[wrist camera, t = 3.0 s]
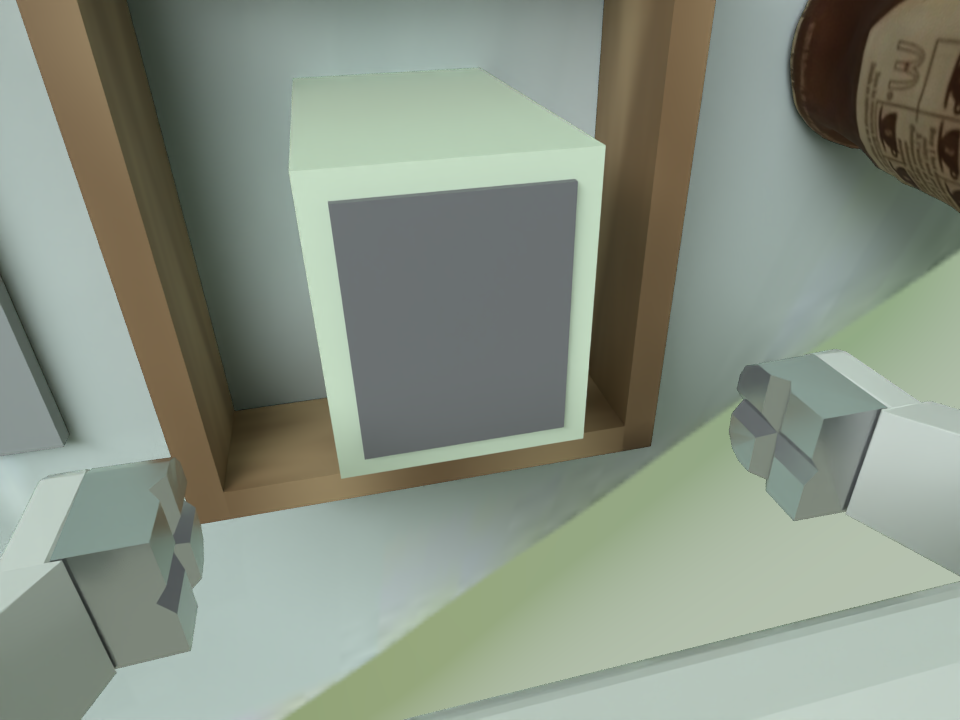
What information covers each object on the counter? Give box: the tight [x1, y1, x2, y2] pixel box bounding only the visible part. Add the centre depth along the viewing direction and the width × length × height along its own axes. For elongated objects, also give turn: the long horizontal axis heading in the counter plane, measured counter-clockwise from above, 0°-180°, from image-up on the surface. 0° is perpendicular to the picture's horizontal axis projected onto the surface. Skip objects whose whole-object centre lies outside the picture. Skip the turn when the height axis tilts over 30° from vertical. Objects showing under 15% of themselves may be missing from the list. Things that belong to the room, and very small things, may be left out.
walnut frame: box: [16, 0, 716, 524], centre depth 18 cm, size 14×16×4 cm
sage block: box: [289, 68, 606, 479], centre depth 16 cm, size 5×6×9 cm
